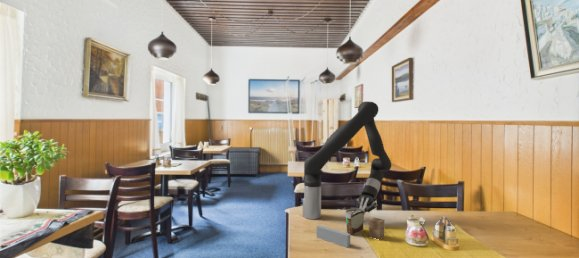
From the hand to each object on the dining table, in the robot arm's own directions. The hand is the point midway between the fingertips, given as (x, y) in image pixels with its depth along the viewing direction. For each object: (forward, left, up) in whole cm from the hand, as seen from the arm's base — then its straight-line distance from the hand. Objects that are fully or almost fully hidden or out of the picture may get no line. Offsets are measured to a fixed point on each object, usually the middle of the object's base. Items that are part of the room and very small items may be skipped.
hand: (359, 217), depth 147 cm
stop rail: (0, -24, -5) cm, 24 cm away
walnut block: (+12, -6, -5) cm, 14 cm away
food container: (0, -7, -5) cm, 9 cm away
